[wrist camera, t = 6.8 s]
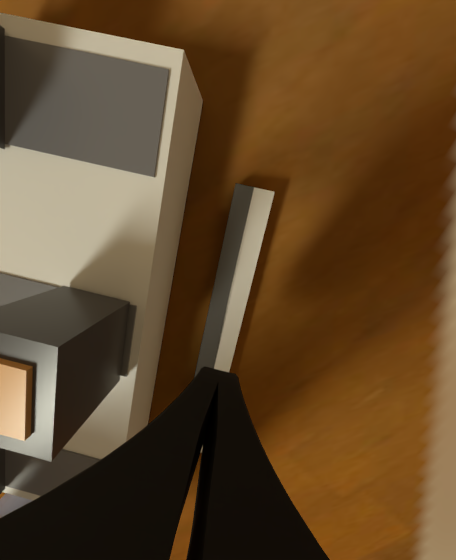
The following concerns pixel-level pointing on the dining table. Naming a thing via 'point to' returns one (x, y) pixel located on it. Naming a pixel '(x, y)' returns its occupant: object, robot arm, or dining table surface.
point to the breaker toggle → (56, 366)
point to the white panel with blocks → (93, 203)
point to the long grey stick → (234, 276)
